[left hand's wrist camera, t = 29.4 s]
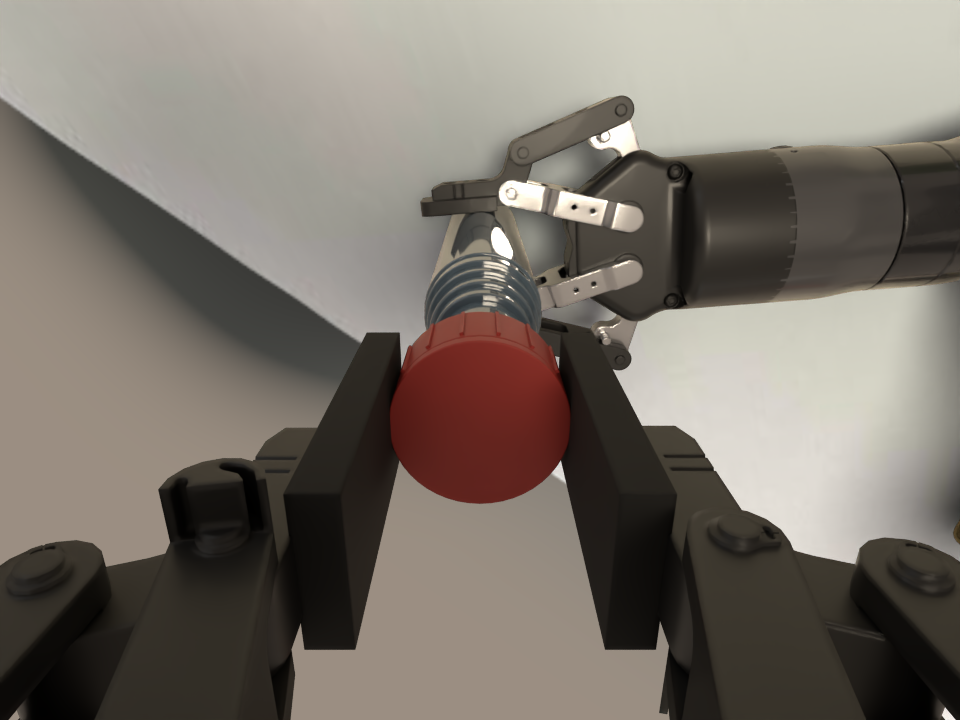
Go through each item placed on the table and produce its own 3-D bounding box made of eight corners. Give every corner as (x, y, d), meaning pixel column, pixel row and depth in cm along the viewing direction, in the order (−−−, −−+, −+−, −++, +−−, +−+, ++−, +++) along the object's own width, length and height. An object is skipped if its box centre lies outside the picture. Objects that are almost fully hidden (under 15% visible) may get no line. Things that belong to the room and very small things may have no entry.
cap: (594, 387, 15) (611, 426, 13) (480, 486, 16) (480, 535, 14) (480, 274, 14) (480, 300, 12) (364, 387, 15) (348, 426, 13)
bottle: (436, 235, 38) (373, 393, 16) (475, 180, 36) (466, 268, 15) (488, 274, 38) (498, 475, 17) (529, 222, 37) (595, 364, 16)
